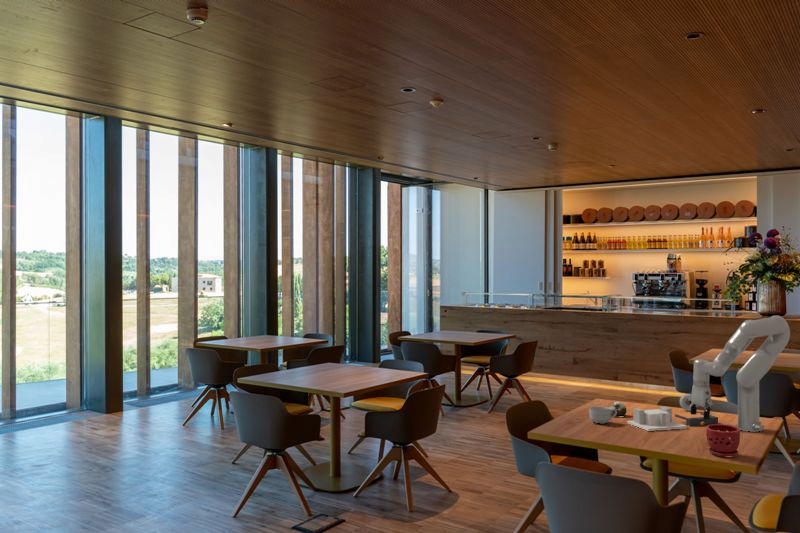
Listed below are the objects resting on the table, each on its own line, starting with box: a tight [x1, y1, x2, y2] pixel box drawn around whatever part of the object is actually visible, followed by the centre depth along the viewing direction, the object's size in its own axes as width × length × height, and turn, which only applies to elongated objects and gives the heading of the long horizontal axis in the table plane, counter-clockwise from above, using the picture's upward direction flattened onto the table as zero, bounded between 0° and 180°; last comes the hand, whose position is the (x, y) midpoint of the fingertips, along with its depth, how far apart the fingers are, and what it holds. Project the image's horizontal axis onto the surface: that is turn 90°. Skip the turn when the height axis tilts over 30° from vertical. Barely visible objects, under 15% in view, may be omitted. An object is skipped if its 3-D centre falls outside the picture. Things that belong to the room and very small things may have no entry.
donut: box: [679, 393, 699, 412], centre depth 369 cm, size 10×4×10 cm, turn 60°
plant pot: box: [705, 423, 741, 457], centre depth 282 cm, size 13×13×12 cm
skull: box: [609, 401, 627, 418], centre depth 361 cm, size 12×10×10 cm
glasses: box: [674, 412, 719, 427], centre depth 342 cm, size 12×17×4 cm
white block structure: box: [626, 406, 688, 432], centre depth 334 cm, size 18×22×8 cm
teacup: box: [588, 406, 617, 425], centre depth 343 cm, size 14×11×8 cm
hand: (699, 416), depth 338 cm, fingers open, 9 cm apart
